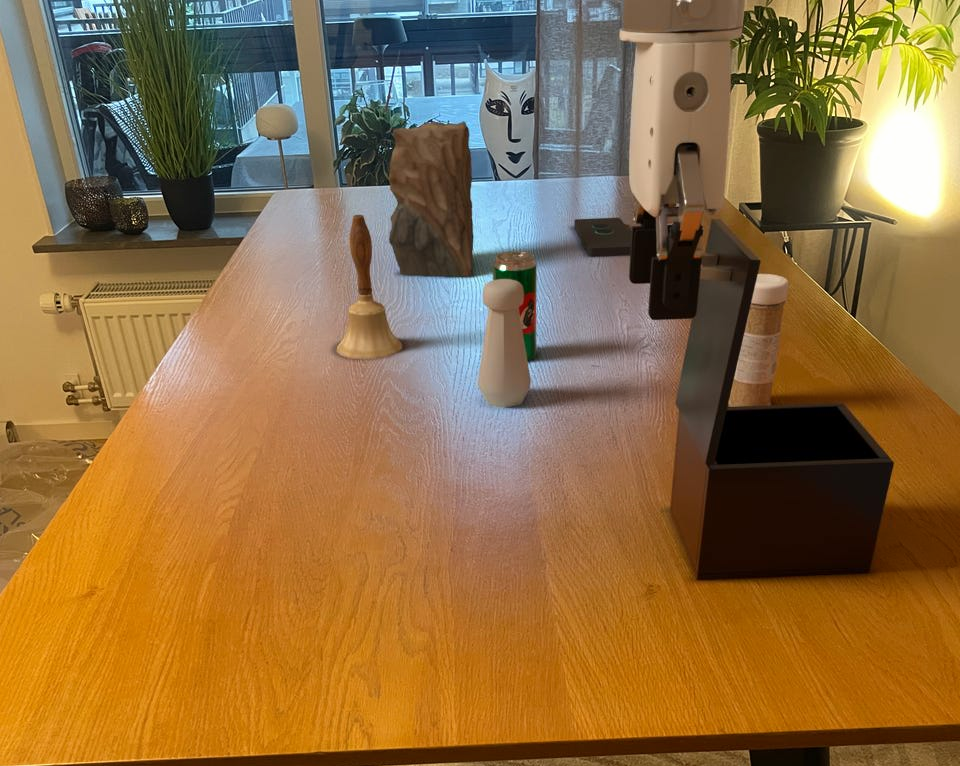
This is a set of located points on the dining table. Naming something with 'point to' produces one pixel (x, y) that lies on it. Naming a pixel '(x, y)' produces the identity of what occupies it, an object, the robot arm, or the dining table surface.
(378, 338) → the hand bell
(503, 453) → the dining table surface
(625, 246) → the smart home device
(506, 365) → the salt shaker
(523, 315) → the soda can
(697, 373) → the lid
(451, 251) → the owl
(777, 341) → the sprinkles bottle
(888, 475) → the box
